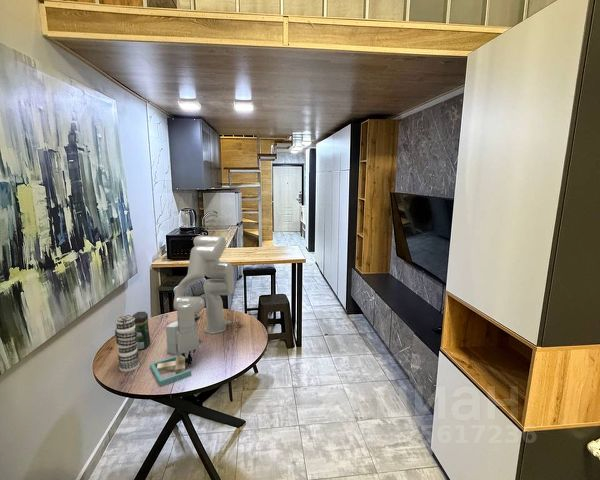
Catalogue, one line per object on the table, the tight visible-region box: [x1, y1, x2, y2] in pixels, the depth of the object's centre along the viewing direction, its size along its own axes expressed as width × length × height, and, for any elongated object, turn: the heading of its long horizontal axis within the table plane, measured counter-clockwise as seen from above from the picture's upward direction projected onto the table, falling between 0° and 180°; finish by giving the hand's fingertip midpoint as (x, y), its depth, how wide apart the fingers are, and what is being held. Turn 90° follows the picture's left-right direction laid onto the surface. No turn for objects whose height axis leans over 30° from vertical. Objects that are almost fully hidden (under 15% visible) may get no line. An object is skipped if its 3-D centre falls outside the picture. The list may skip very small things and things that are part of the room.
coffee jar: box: [131, 311, 151, 351], centre depth 172 cm, size 10×8×19 cm
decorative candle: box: [114, 314, 140, 372], centre depth 152 cm, size 9×9×25 cm
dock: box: [149, 355, 192, 387], centre depth 149 cm, size 14×17×2 cm
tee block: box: [157, 355, 186, 375], centre depth 151 cm, size 12×12×3 cm
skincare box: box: [165, 320, 178, 355], centre depth 168 cm, size 8×6×15 cm
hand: (188, 363), depth 154 cm, fingers closed
